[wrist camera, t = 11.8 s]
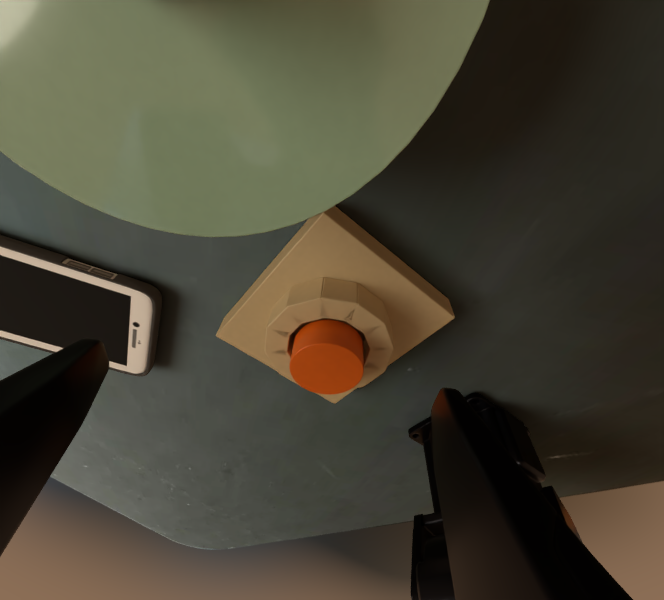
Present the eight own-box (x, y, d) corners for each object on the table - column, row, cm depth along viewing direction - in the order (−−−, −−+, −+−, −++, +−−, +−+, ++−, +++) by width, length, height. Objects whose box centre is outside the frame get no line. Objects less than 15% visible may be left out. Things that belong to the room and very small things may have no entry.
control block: (335, 384, 25) (333, 428, 22) (223, 317, 22) (204, 358, 19) (449, 298, 20) (463, 341, 18) (326, 198, 17) (320, 229, 14)
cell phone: (-129, 189, 18) (-151, 196, 17) (166, 285, 21) (158, 295, 20) (-84, 302, 23) (-100, 312, 22) (155, 370, 25) (148, 380, 24)
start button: (333, 378, 20) (331, 404, 19) (280, 347, 19) (274, 372, 18) (377, 344, 19) (379, 369, 17) (323, 307, 17) (320, 331, 16)
